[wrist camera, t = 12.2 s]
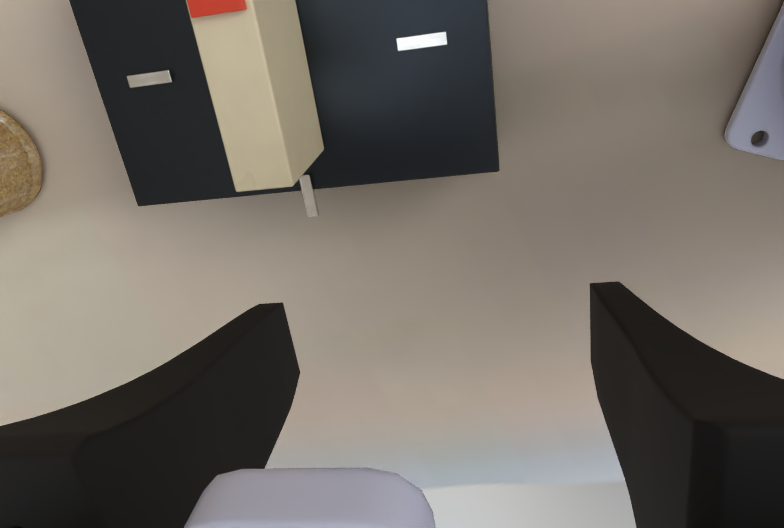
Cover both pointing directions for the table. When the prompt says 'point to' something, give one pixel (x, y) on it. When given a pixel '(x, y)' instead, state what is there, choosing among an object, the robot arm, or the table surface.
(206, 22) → the bar knob
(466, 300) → the table surface
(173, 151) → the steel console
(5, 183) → the sprinkles bottle
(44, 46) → the table surface
